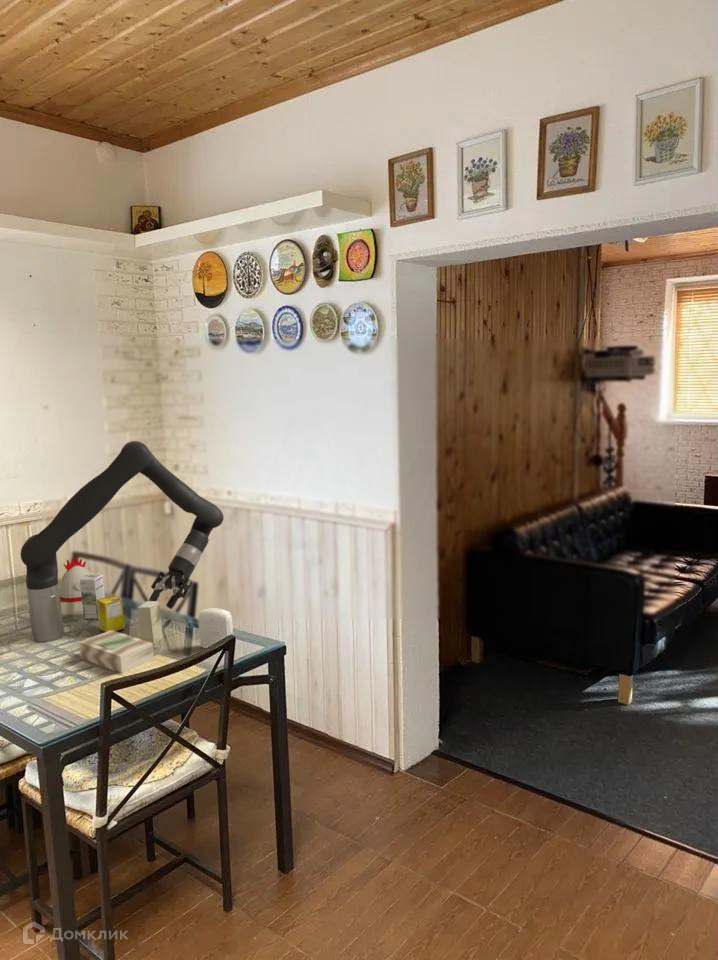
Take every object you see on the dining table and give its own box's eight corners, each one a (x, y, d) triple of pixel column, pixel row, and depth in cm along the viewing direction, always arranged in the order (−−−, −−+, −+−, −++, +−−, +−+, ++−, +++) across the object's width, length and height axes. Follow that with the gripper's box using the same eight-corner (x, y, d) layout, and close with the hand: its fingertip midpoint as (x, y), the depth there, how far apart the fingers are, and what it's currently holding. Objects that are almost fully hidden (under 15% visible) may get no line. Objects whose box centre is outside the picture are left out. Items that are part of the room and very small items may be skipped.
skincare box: (153, 645, 221) (150, 607, 219) (140, 645, 222) (136, 607, 220) (163, 637, 227) (159, 600, 225) (150, 637, 228) (146, 600, 226)
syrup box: (107, 613, 251) (103, 573, 249) (98, 620, 245) (94, 579, 243) (92, 613, 252) (88, 573, 250) (83, 619, 246) (78, 578, 244)
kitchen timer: (53, 596, 273) (48, 558, 270) (89, 587, 282) (85, 550, 280) (67, 604, 263) (63, 565, 260) (104, 595, 272) (100, 556, 269)
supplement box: (117, 626, 239) (113, 594, 237) (125, 630, 235) (122, 598, 233) (99, 631, 235) (96, 599, 233) (108, 635, 231) (104, 603, 229)
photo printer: (236, 646, 217) (233, 607, 215) (229, 652, 213) (226, 612, 211) (205, 643, 220) (202, 605, 218) (198, 649, 216) (195, 610, 214)
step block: (81, 658, 214) (79, 641, 213) (113, 645, 222) (111, 629, 221) (122, 673, 202) (120, 655, 201) (154, 659, 211) (152, 642, 210)
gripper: (163, 552, 235) (137, 595, 228) (193, 557, 226) (167, 603, 219) (178, 563, 240) (153, 606, 233) (207, 569, 231) (182, 614, 224)
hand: (159, 605), depth 226 cm, fingers open, 8 cm apart
